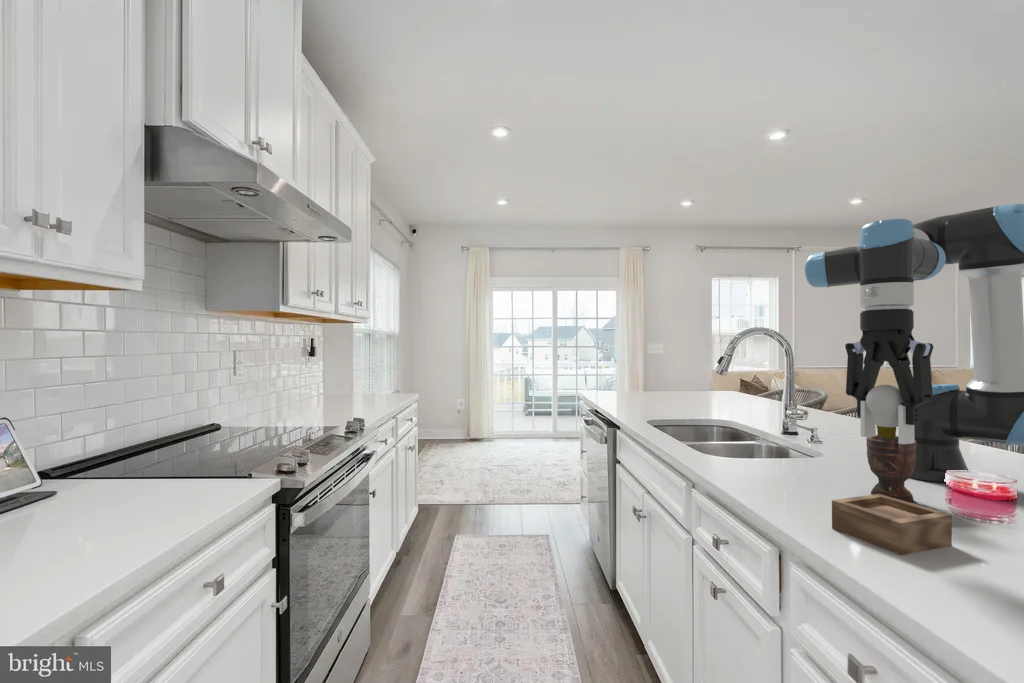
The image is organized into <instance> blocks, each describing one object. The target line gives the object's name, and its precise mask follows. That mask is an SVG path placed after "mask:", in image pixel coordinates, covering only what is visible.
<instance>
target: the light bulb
mask: <svg viewBox="0 0 1024 683" xmlns="http://www.w3.org/2000/svg"><path fill="white" fill-rule="evenodd" d="M900 403H903V400H902V397H901V394H900V391H899V387H897V386H896V385H895V386H894V385H891V384H880V385H877V386H876V385H875V386H874V388H873V389H871V390H870V391H869V392H868V394H867V397H866V404H867V407H868V409H869V410H870V411H871V413H872V414H873V416H874V420H875V423H876V424H877V425H876V432H877V434H876V435H877V436H879V437H880V438H881V439H882V440H883V441H891V440H893V439H894V438H896V437H895V436H897V429H898V405H901V404H900Z"/></svg>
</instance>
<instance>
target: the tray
mask: <svg viewBox="0 0 1024 683" xmlns="http://www.w3.org/2000/svg"><path fill="white" fill-rule="evenodd" d="M952 516H953V515H952V514H950V513H946V512H943V511H940V510H937V509H932V508H930V507H926V506H923V505H919V504H916V503H913V502H906V501H902V500H899V499H896V498H892V497H889V496H885V495H882V494H873V495H871V494H867V495H861V496H860V495H859V496H852V497H846V498H839V499H832V500H831V529H833V530H835V531H838V532H839V533H843V534H844V535H845V534H846V535H848V536H850V537H853V538H856V539H858V540H860V541H863V542H866V543H868V544H871V545H873V546H875V547H877V548H878V547H879V548H880V549H883V550H886V551H888V552H891V553H893V554H896V555H899V556H905V555H910V554H917V553H921V552H927V551H931V550H936V548H937V549H941V548H942V547H943V548H947V547H951V546H953V532H952V531H953V523H952V520H953V517H952Z"/></svg>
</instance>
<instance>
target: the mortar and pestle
mask: <svg viewBox="0 0 1024 683" xmlns="http://www.w3.org/2000/svg"><path fill="white" fill-rule="evenodd" d="M876 426H877V424H876ZM877 435H878V434H876V436H872V437H865V439H866V442H865V443H866V457H867V463H868V465H869V468H870V471H871V472H872V473H873V474H874V475H875V476H876V477H877V479H878V482H877V483H876V484H875V485H874V486H873V488H872V489H871V491H870V495H873V494H882V495H885V496H889V497H892V498H896V499H899V500H902V501H906V502H909V503H912V502H913V501H914V496H913V493H912V492H911V491H910V490H909V489H907V487H906V486H905V482H906V481H908V479H910V478H911V475H912V474H913V471H914V467H915V462H916V440H914V443H912V444H899V443H898V435H896V436H895V437H896V438H894V439H893V440H891V441H883V440H882V439H881V438H880V437H879V436H877Z"/></svg>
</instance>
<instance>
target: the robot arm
mask: <svg viewBox="0 0 1024 683" xmlns="http://www.w3.org/2000/svg"><path fill="white" fill-rule="evenodd" d="M859 237H860V238H859V243H858V244H853V245H850V246H847V247H842V248H838V249H834V250H827V251H822V252H817V253H812V254H811V255H809V256H808V258H807V259H806V261H805V265H804V273H805V276H804V277H805V279H806V281H807V283H808V284H809V285H810V286H811V287H814V288H830V287H831V288H832V287H840V286H848V285H849V286H850V285H860V288H859V289H860V292H859V293H860V296H859V297H860V298H859V299H860V302H859V303H860V306H859V307H860V308H862V309H864V310H861V312H859V314H860V315H859V324H860V325H859V326H860V327H859V328H860V330H861V332H862V336H861V338H860V339H859V341H856V342H853V343H852V342H849V343H845V351H846V354H847V361H846V362H847V363H846V364H847V365H846V367H847V368H846V381H845V394H846V395H847V396H850V397H852V398H855V400H856V406H857V407H856V415H857V417H858V418H860V437H862V438H863V437H864V438H867V437H872V436H876V435H877V434H876V432H877V425H876V423H875V420H874V416H873V414H872V413H871V411H870V410H869V409H868V407H867V404H866V397H867V394H868V392H869V391H870V390H871V389H873V388H874V387H876V382H877V380H878V377H879V373H880V370H881V367H882V366H883V365H884V364H885V362H888V365H889V367H891V369H892V370H893V371H892V372H893V374H894V378H895V381H896V384H897V386H898V387H897V388H899V391H900V394H901V397H902V400H903V403H900V404H901V405H898V425H897V429H898V430H897V431H898V434H897V436H898V443H899V444H912V443H914V440H916V462H915V467H914V471H913V474H912V475H911V477H910V478H911V479H915V480H916V479H917V480H921V481H922V480H923V481H929V482H936V483H945V482H944V479H945V473H946V471H947V470H969V468H968V466H967V464H966V461H965V459H964V457H963V454H962V452H961V449H960V439H965V440H972V441H973V440H974V441H981V442H988V443H995V444H1002V445H1003V444H1004V445H1006V446H1020V447H1021V446H1023V447H1024V304H1023V300H1024V299H1023V280H1022V272H1023V271H1024V203H1012V204H1011V203H1010V204H1003V205H995V206H992V207H986V208H985V207H984V208H980V209H974V210H970V211H965V212H959V213H954V214H948V215H941V216H936V217H934V218H930V219H927V220H924V221H923V220H922V221H921V222H917V223H915V224H914V223H913V222H912V221H911V220H910V219H907V218H888V219H887V218H886V219H881V220H877V221H873V222H872V221H871V222H869V223H866V224H865V225H863V226H862V228H861V229H860V236H859ZM953 264H954V265H955V264H958V272H959V273H961V274H963V275H964V276H965V277H967V278H968V279H967V280H968V294H969V310H970V313H969V314H970V327H971V328H970V329H971V343H972V362H973V363H972V364H973V374H974V375H973V377H974V378H973V379H971V380H970V381H969V382H968V383H967V384H966V385H965V390H962V389H961V387H960V386H959V384H957V383H954V384H953V383H947V384H946V383H944V384H933V381H932V379H933V378H932V377H933V376H932V364H931V356H932V353H933V351H934V345H933V344H932V342H931V343H929V342H927V343H926V342H920V341H916V339H915V338H914V336H913V333H912V332H913V329H914V328H915V327H914V317H915V316H914V315H915V313H914V311H913V309H912V308H911V309H910V307H913V306H914V305H915V300H914V299H915V298H914V296H915V294H914V291H915V290H914V281H925V280H929V279H931V278H934V277H935V276H937V275H938V274H939V273H940V272H941V271H942V270H943V269H944V267H945V265H953ZM863 352H866V353H865V355H864V353H863ZM909 352H910V353H912V356H911V357H912V358H911V361H910V358H909ZM911 362H912V370H911V367H910V365H911Z"/></svg>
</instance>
